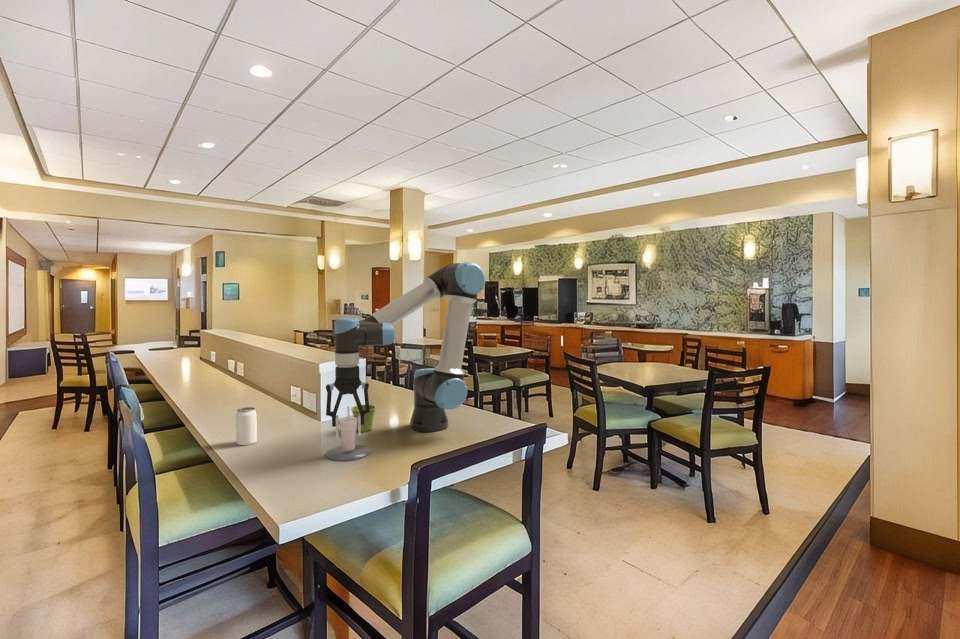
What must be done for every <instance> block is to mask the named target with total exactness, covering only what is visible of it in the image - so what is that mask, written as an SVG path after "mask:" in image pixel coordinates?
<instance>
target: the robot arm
mask: <svg viewBox="0 0 960 639" xmlns="http://www.w3.org/2000/svg"><path fill="white" fill-rule="evenodd" d="M485 284H486V276H485V273H484V270H483V269H482V267H481V266H480V265H479V264H477V263H475V262H472V261H471V262H469V261H468V262H467V261H462V262H456V263H448V264H446V265H444V266H442V267H440V268H439V269H437V270H436V271H435V272H433V273H431V274H430V275H428V276H426V277H425V278H424V280H423V282H422V283H420V284H419V285H417V286H415V287H413V289H410V290H409V291H407V292H406V293H404V294H402V295H401V296H399V297H397V298H395V299H394V300H393V301H391V302H390V303H388V304H386V305H385V306H383V307H381V308H380V309H378V310H377V311H374V312H373V313H372V314H370V315H369V316H367V317H364V318H363V319H360V320H359V319H358V318H357V317H340V318H339V317H338V318H337V319H335V321H334V331H333V334H334V363H335V368H334V369H335V370H334V371H335V375H334V376H335V380H334V382H333V383H330V384H329V383H327V384H326V386H325V389H326V393H327V394H326V405H325V407H326V411H325V415H326V416H327V417H331V426H332V428H334V427H335V438H339V435H340V425H339V424H338V420H339V419H340V418H339V415H337V414H338V410H339V408H340V404H341V401H342V397H343V396H344V395H352V396H353V398H354V401H355V403H356V406H357V407H358V409H359V412H360V414H358V430H357V431H358V435H357V436H360V437H361V436H362V432H361V425H364V415H365V414H367V413H369V412H370V409H369V405H370V401H369V387H370V383H369V382H368V381H367V382H366V381H365V382H364V381H362V380H361V379H360V378H361V377H360V366H359V364H360V347H370V346H372V347H373V346H386V345H387V346H388V345H392V344H393V343H394V341H395V338H396V330H395V327H394V325H395V324H397V323H399V322H401V321H402V320H403V319H405V318H407V317H408V316H410V315H412V314H413V313H415V312H416V311H417V310H419V309H421V308H422V307H424V306H425V305H427V304H428V303H430V302H431V301H433V300H439V299H441V298H443V297H446V299H447V300H448V305H447V309H446V316H445V322H444V323H445V324H444V329H443V336H442V341H441V346H440V353H439V360H438V365H436V366H435V367H432V368H431V367H429V368H420V369H416V370H415V371H414V372H413V401H414V402H413V405H414V406H413V411H412V414H411V418H410V420H409V428H410V429H412V430H413V431H416V432H423V433H424V432H426V433H429V432H431V433H432V432H439V431H443V430H445V429H448V427H449V418H448V415H447V412H446V410H455V409H458V408H459V407H460V406H461V405H463V403H464V402H465V400H466V399H467V397H468V396H467V395H468V387H467V385H466V382H465V372H464V371H463V369H462V368H463V367H462V366H463V360H464V354H465V348H466V340H467V336H468V330H469V324H470V317H471V311H472V305H473V304H475V303H476V302H477V299H478V294H479V293H481V291H483V289H484V287H485ZM360 387H361V389H362V390H363V395H364V396H363V397H364V405H365V407H366V409H364V410H363V407H362V405H363V404H362V402H361V400H360V398H359V395H358V389H359V388H360ZM334 388H336V390H337V391H338V395H337V399H336V402H335V405H334V408H333V410H331V408H332V395H333V392H332V391H334Z"/></svg>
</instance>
